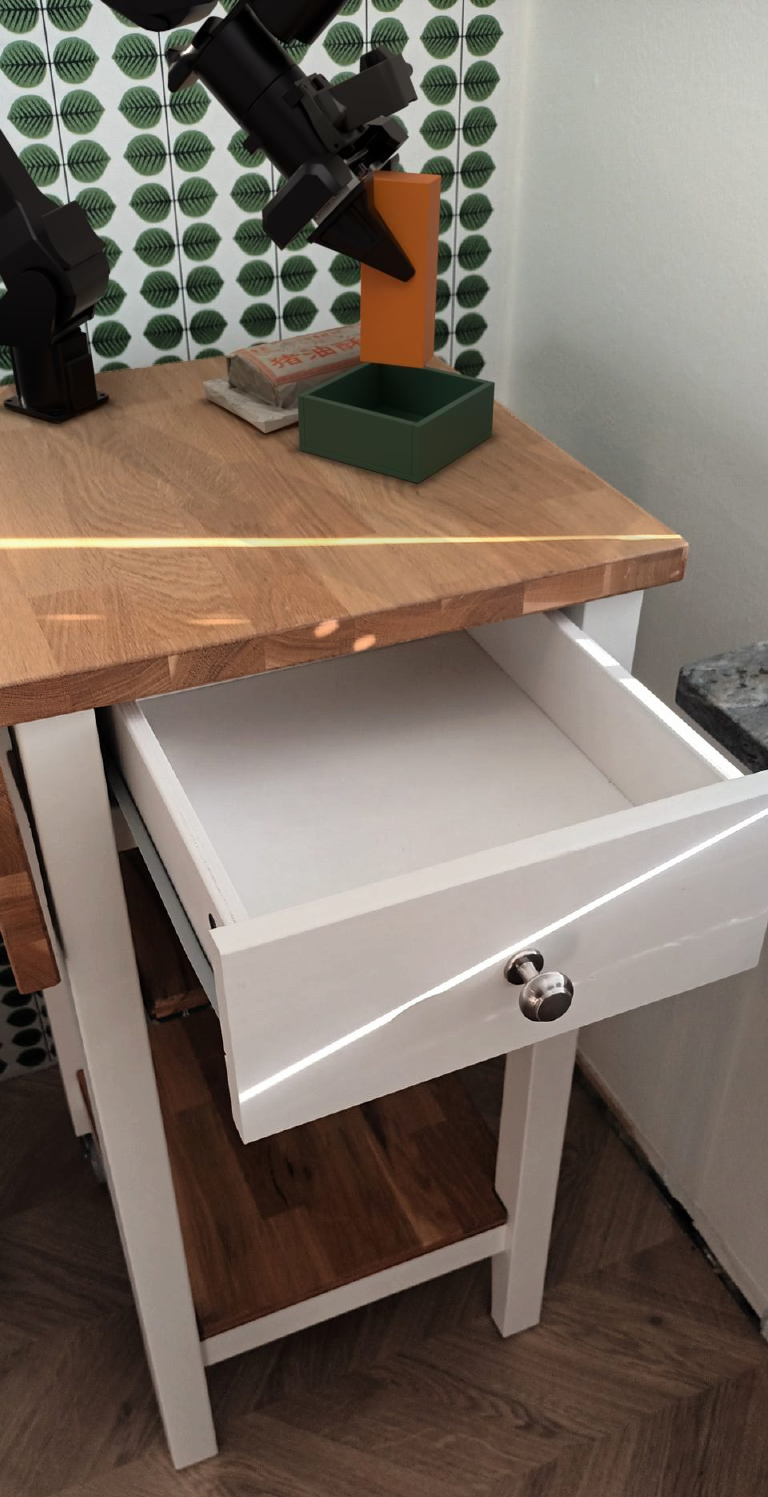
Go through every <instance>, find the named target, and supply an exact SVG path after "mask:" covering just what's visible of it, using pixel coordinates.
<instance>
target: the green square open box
mask: <svg viewBox="0 0 768 1497" xmlns="http://www.w3.org/2000/svg"><path fill="white" fill-rule="evenodd" d="M495 386H496V382H494V381H490V380H487V379H483V378H478V377H475V376H474V377H473V376H469V375H465V374H460V373H457V372H452V371H448V370H443V369H440V368H439V369H438V368H435V367H431V366H426V365H425V366H424V367H423V368H413V367H405V366H396V365H388V364H379V363H371V362H364V363H362V364H360V365H358V366H356V367H354V368H352V369H350V370H348V371H346V372H344V373H342V374H340V375H338V376H336V377H334V378H332V379H330V380H328V381H326V382H324V383H322V384H320V385H318V386H316V387H313V388H311V389H309V390H307V391H305V392H303V393H301V394H299V395H298V422H297V423H298V446H299V448H298V449H299V451H302V452H305V453H308V454H312V455H315V456H319V457H322V458H326V459H329V460H332V461H337V462H340V463H342V464H343V463H344V464H347V465H351V466H354V467H358V468H362V469H365V470H368V471H372V472H375V473H380V474H383V475H387V476H390V477H394V478H397V479H401V480H404V481H407V482H411V483H415V484H420V483H421V482H423V481H424V480H426V479H427V478H429V477H430V476H432V475H433V474H435V473H437V472H439V471H440V470H441V469H443V468H444V467H446V466H448V465H449V464H451V463H452V462H454V461H455V460H457V459H459V458H460V457H462V456H464V455H465V454H467V453H468V452H469V451H471V450H473V449H474V448H476V447H477V446H479V445H480V444H482V443H483V442H485V441H487V440H489V439H490V438H492V436H493V424H494V423H493V421H494V407H495V406H494V405H495V404H494V403H495V390H496V389H495V388H496V387H495Z"/></svg>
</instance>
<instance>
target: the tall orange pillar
mask: <svg viewBox="0 0 768 1497" xmlns="http://www.w3.org/2000/svg"><path fill="white" fill-rule="evenodd" d="M371 173H373V176H374V204H375V207H376V209H377V210H378V212H379V213H380V215H381V217H382V218H383V220H384V221H385V223H386V224H387V226H388V227H389V229H390V230H391V232H392V233H393V235H394V236H395V238H396V239H397V241H398V243H399V244H400V246H401V247H402V249H403V250H404V252H405V253H406V255H407V257H408V258H409V260H410V262H411V263H412V265H413V267H414V268H415V271H416V272H415V275H414V276H413V277H412V278H411V279H409V280H408V281H407V282H403V281H400V280H398V279H396V278H394V277H392V276H390V275H387V274H385V273H383V272H381V271H379V270H377V269H374V268H372V267H370V266H368V265H366V264H364V263H362V262H360V316H359V318H360V320H359V321H360V322H359V323H360V361H362V362H371V363H379V364H388V365H396V366H405V367H413V368H423V367H424V366H426V365H427V364H428V363H429V362H430V361H431V360H432V359H433V358H434V354H435V353H434V351H435V332H436V331H435V330H436V308H437V307H436V306H437V285H438V284H437V282H438V263H439V262H438V260H439V237H440V235H439V234H440V213H441V212H440V211H441V190H442V189H441V188H442V175H440V174H432V173H430V174H429V173H418V172H408V171H407V172H405V171H397V172H394V171H381V170H375V171H373V172H371ZM371 173H369V174H371ZM369 174H368V175H369ZM368 175H366V176H364V177H362V180H363V179H364V178H365V177H367V176H368Z"/></svg>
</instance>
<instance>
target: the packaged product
mask: <svg viewBox="0 0 768 1497" xmlns="http://www.w3.org/2000/svg"><path fill="white" fill-rule="evenodd" d="M225 358H226V359H225V364H226V371H227V376H221V377H219V378H214V379H208V380H205V381H203V382H202V385H203V389H204V393H205V398H206V399H207V400H209V401H210V402H213V403H214V404H217V405H218V406H220V407H222V408H224V409H225V410H227V411H230V412H231V413H233V414H235V415H237V416H238V417H240V418H242V419H244V420H246V422H249V424H252V425H253V426H254V427H256V428H257V429H259V430H260V431H261V432H262V433H264V434H267V433H270V432H273V431H276V430H279V429H282V428H285V427H287V426H290V425H293V424H297V423H299V422H298V395H299V394H301V393H303V392H305V391H307V390H309V389H311V388H313V387H316V386H318V385H320V384H322V383H324V382H326V381H328V380H330V379H332V378H334V377H336V376H338V375H340V374H342V373H344V372H346V371H348V370H350V369H352V368H354V367H356V366H358V365H360V364H362V363H364V362H362V361H360V322H357V323H354V324H349V325H343V326H340V327H339V326H338V327H334V328H328V329H324V330H321V331H315V332H312V333H307V334H303V335H299V336H292V337H289V338H284V339H280V340H275V341H271V342H266V343H262V344H258V345H253V346H248V347H244V348H240V349H236V350H234V351H231V352H230V353H229V354H228V355H227V356H226V357H225Z"/></svg>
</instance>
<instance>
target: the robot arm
mask: <svg viewBox="0 0 768 1497" xmlns="http://www.w3.org/2000/svg"><path fill="white" fill-rule="evenodd" d="M99 1H100V2H101V3H102V4H104V5H105V6H107V7H108V8H110V9H112V10H113V11H115V12H116V13H118V14H119V15H121V16H122V17H124V18H126V19H127V20H128V21H130V22H131V23H132V24H134V25H136V26H137V27H139V28H141V29H143V30H145V31H148V32H154V33H164V32H168V31H171V30H175V29H178V28H181V27H185V26H188V25H191V24H194V23H199V22H201V21H202V20H204V19H205V18H206V20H205V21H204V22H203V23H202V25H201V26H200V28H198V30H197V31H196V32H195V34H194V35H193V36H192V37H191V39H190V40H189V42H188V43H187V44H186V45H183V44H177V45H174V46H172V47H169V48H167V49H166V50H165V54H166V59H167V63H168V64H167V65H168V69H167V90H168V91H169V92H170V93H171V94H176V93H178V92H181V91H183V90H185V89H188V88H191V87H193V86H195V84H196V83H197V82H198V81H200V83H202V85H203V86H205V88H206V89H207V91H208V92H210V94H211V95H212V96H213V97H214V99H215V100H216V101H217V102H218V103H219V104H220V105H221V107H222V108H223V109H224V110H225V111H226V112H227V113H228V115H229V116H230V117H231V118H232V119H233V120H234V122H235V123H236V124H237V125H238V126H239V127H240V129H241V130H242V131H243V132H244V133H245V134H246V135H247V137H246V138H245V139H244V140H243V141H242V143H241V145H242V146H243V148H245V150H246V151H247V152H248V153H249V155H250V156H254V155H255V154H257V153H259V152H261V153H262V154H263V156H265V158H266V159H267V160H268V161H269V162H270V164H271V165H272V166H273V167H274V168H275V169H276V170H277V172H278V173H279V174H280V175H281V176H282V177H283V179H284V180H285V181H286V182H285V183H284V184H283V186H282V187H281V188H280V189H279V190H278V191H277V192H276V193H275V194H274V195H273V196H272V198H271V199H270V200H269V201H268V202H267V203H266V204H265V205H264V206H263V207H262V208H261V222H262V223H261V225H262V231H263V233H265V235H266V236H267V237H268V238H269V239H270V240H271V241H272V242H273V243H274V244H275V246H276V247H277V248H278V250H280V252H283V251H284V250H285V249H286V248H288V247H289V246H290V245H291V244H293V243H294V242H295V241H296V240H297V239H298V238H299V237H300V235H299V233H300V232H301V231H302V230H303V229H304V228H305V227H306V226H307V225H308V224H309V223H310V222H311V221H313V222H314V223H315V224H316V227H315V229H313V231H312V232H310V234H309V235H308V236H307V237H306V238H305V241H306V242H307V243H308V244H309V245H312V244H316V245H319V246H321V247H324V248H325V249H328V250H331V251H334V252H335V253H338V254H341V255H343V256H346V257H347V258H350V259H353V260H355V261H357V262H359V263H361V262H362V263H364V264H366V265H368V266H370V267H372V268H374V269H377V270H379V271H381V272H383V273H385V274H387V275H390V276H392V277H394V278H396V279H398V280H400V281H403V282H407V281H408V280H409V279H411V278H412V277H413V276H414V275H415V272H416V271H415V268H414V267H413V265H412V263H411V262H410V260H409V258H408V257H407V255H406V253H405V252H404V250H403V249H402V247H401V246H400V244H399V243H398V241H397V239H396V238H395V236H394V235H393V233H392V232H391V230H390V229H389V227H388V226H387V224H386V223H385V221H384V220H383V218H382V217H381V215H380V213H379V212H378V210H377V209H376V207H375V204H374V176H373V173H371V172H373V171H375V170H381V171H394V172H398V165H399V163H400V161H401V160H400V159H401V158H400V153H399V152H397V151H398V150H400V148H401V147H402V146H403V145H404V144H405V143H406V142H407V140H408V139H409V138H410V136H409V134H407V132H406V131H405V130H404V129H403V128H402V126H401V124H399V123H398V121H397V120H396V119H395V118H394V116H393V117H392V115H394V114H396V113H399V112H400V111H402V110H404V109H406V108H407V107H408V106H409V105H410V104H411V103H414V102H417V101H418V100H419V97H418V94H417V91H416V89H415V86H414V84H413V81H412V78H411V77H412V75H413V73H414V68H413V65H412V64H411V63H409V62H407V61H406V60H405V57H404V56H403V53H402V52H399V53H396V54H394V53H393V52H392V50H391V49H389V48H388V46H386V45H385V44H384V43H383V44H381V45H379V46H376V47H375V48H373V49H371V50H369V51H367V52H365V53H363V54H361V55H360V56H359V65H358V66H359V68H358V69H359V70H358V71H359V72H358V73H357V74H354V75H352V76H350V77H348V78H346V79H344V80H342V81H340V82H338V83H336V84H334V85H332V83H331V82H330V81H329V80H328V79H327V78H326V77H325V75H324V74H322V73H317V72H313V73H311V74H309V75H306V73H305V72H304V71H303V70H302V68H301V67H300V66H299V65H298V64H297V62H296V61H295V60H294V59H293V58H292V57H291V55H290V54H289V53H288V52H287V51H286V49H285V48H284V47H283V46H282V45H281V43H282V44H285V45H287V46H291V45H293V43H294V42H295V41H297V42H299V43H301V44H304V45H306V46H312V45H313V44H314V43H315V42H316V41H317V40H318V38H319V37H320V36H321V35H322V34H323V33H324V31H325V30H326V29H327V28H328V27H329V25H331V23H332V22H333V21H334V19H336V17H337V16H338V15H339V14H340V12H341V11H342V10H343V9H344V8H345V7H346V5H347V4H348V3H349V2H350V0H238V1H237V2H235V4H234V6H232V8H231V9H230V11H229V12H228V13H227V14H226V15H225V16H224V18H223V17H220V16H217V15H211V14H212V12H213V11H214V10H215V8H216V7H217V6H218V3H219V1H220V0H99ZM280 42H281V43H280ZM396 152H397V153H396ZM395 153H396V154H395ZM369 173H371V174H369ZM368 174H369V175H368ZM366 175H368V176H367V177H365V178H364V179H363V180H362V177H364V176H366ZM107 247H108V244H107V242H105V241H104V240H103V239H102V238H101V237H99V235H98V234H97V232H96V231H95V230H94V229H93V227H92V225H91V223H90V221H89V219H88V217H87V214H86V212H85V210H84V208H83V207H82V206H81V204H80V203H79V202H78V201H77V200H76V199H75V200H71V201H69V202H68V203H65V204H63V205H59V204H58V203H56V202H55V201H54V200H52V199H51V198H49V197H48V196H47V195H46V194H44V193H43V191H41V189H40V188H39V187H38V186H37V184H36V182H35V181H34V180H33V178H32V176H31V174H30V173H29V172H28V170H27V168H26V167H25V165H24V164H23V162H22V161H21V158H20V157H19V156H18V154H17V152H16V151H15V149H14V147H13V146H12V144H11V142H10V141H9V140H8V138H7V137H6V135H5V134H4V132H3V130H2V129H1V128H0V279H1V281H2V283H3V285H4V287H5V289H6V291H5V293H3V295H2V296H1V298H0V346H3V347H8V351H9V357H10V364H11V368H12V374H13V381H14V386H15V390H16V391H15V392H16V395H13V396H11V397H8V398H6V399H3V400H2V401H3V406H4V408H7V409H10V410H13V411H15V412H19V413H23V414H25V415H30V416H33V417H36V418H39V419H43V420H46V421H49V422H54V423H56V422H57V423H58V422H62V421H64V420H65V419H68V418H71V417H74V416H75V415H78V414H80V413H82V412H85V411H87V410H90V409H92V408H94V407H96V406H99V405H101V404H103V403H106V402H108V401H109V400H110V394H109V393H107V392H104V391H100V390H97V384H96V376H95V375H96V374H95V368H94V360H93V354H92V353H90V348H89V341H88V340H89V339H88V333H87V332H85V331H82V328H81V326H82V325H84V324H85V323H86V322H89V321H91V320H93V319H94V318H95V315H96V310H97V304H98V302H99V301H100V300H101V299H102V298H103V297H104V296H105V294H106V292H107V290H108V288H109V282H110V281H109V280H110V275H111V267H110V263H109V261H108V258H107V256H106V254H105V253H104V251H103V250H104V249H106V248H107Z"/></svg>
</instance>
